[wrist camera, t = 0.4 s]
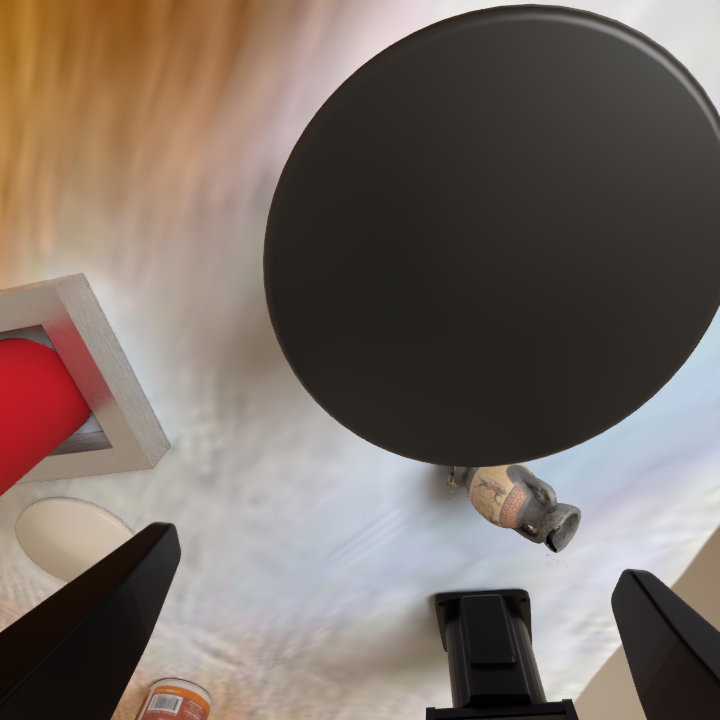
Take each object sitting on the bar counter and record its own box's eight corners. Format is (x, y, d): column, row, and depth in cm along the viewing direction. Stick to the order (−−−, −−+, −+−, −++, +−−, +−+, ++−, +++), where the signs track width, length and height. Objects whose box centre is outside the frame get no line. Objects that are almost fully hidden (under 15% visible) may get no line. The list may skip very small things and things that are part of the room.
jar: (317, 277, 20) (221, 422, 9) (352, 77, 16) (260, -83, 5) (496, 320, 20) (612, 512, 9) (572, 133, 16) (915, 90, 5)
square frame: (170, 446, 25) (153, 468, 23) (21, 464, 27) (-6, 486, 25) (82, 273, 20) (52, 284, 19) (-91, 309, 22) (-133, 323, 20)
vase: (557, 416, 22) (607, 508, 17) (534, 486, 25) (571, 582, 20) (456, 412, 22) (476, 501, 17) (445, 481, 25) (459, 575, 20)
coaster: (162, 578, 31) (158, 586, 31) (62, 585, 33) (57, 592, 32) (108, 491, 27) (102, 498, 27) (-3, 503, 29) (-10, 509, 28)
